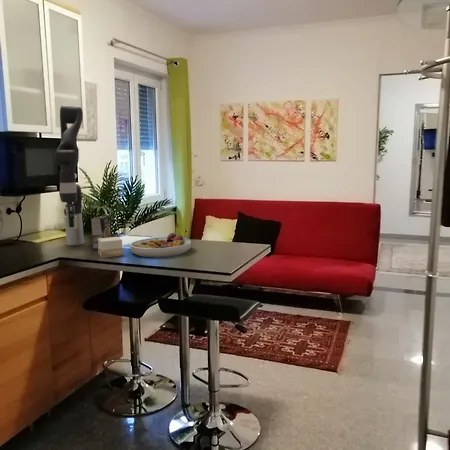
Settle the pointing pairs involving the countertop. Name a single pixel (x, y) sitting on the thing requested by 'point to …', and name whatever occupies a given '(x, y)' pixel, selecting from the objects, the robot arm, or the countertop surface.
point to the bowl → (161, 246)
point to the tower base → (110, 252)
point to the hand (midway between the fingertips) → (71, 226)
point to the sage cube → (68, 222)
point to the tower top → (109, 243)
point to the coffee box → (100, 229)
